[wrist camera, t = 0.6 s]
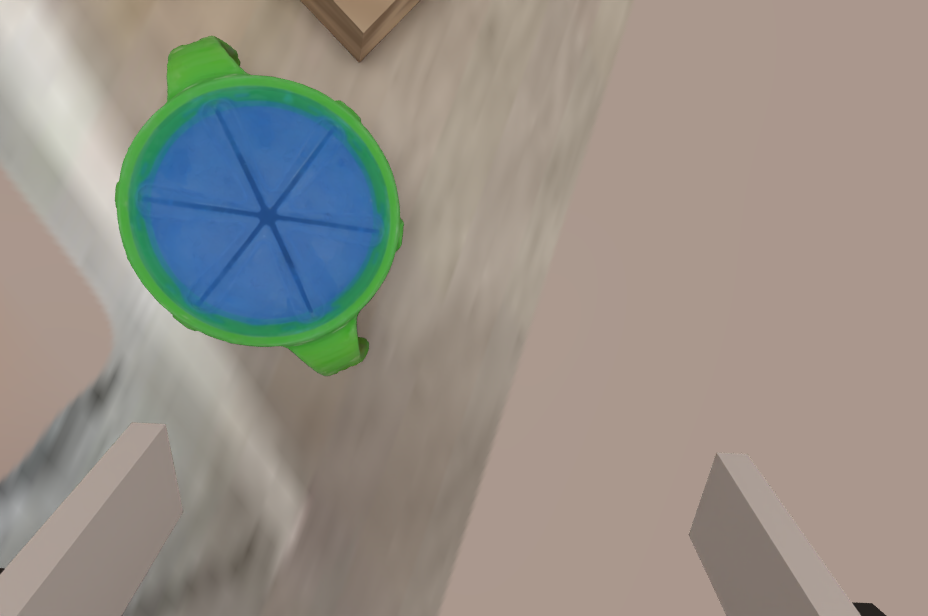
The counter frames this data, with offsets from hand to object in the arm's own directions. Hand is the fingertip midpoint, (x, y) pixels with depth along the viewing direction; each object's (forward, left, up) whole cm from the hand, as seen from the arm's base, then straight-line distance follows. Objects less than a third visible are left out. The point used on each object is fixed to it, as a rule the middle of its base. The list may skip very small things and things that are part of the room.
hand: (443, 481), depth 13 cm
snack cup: (+1, +8, -21) cm, 22 cm away
